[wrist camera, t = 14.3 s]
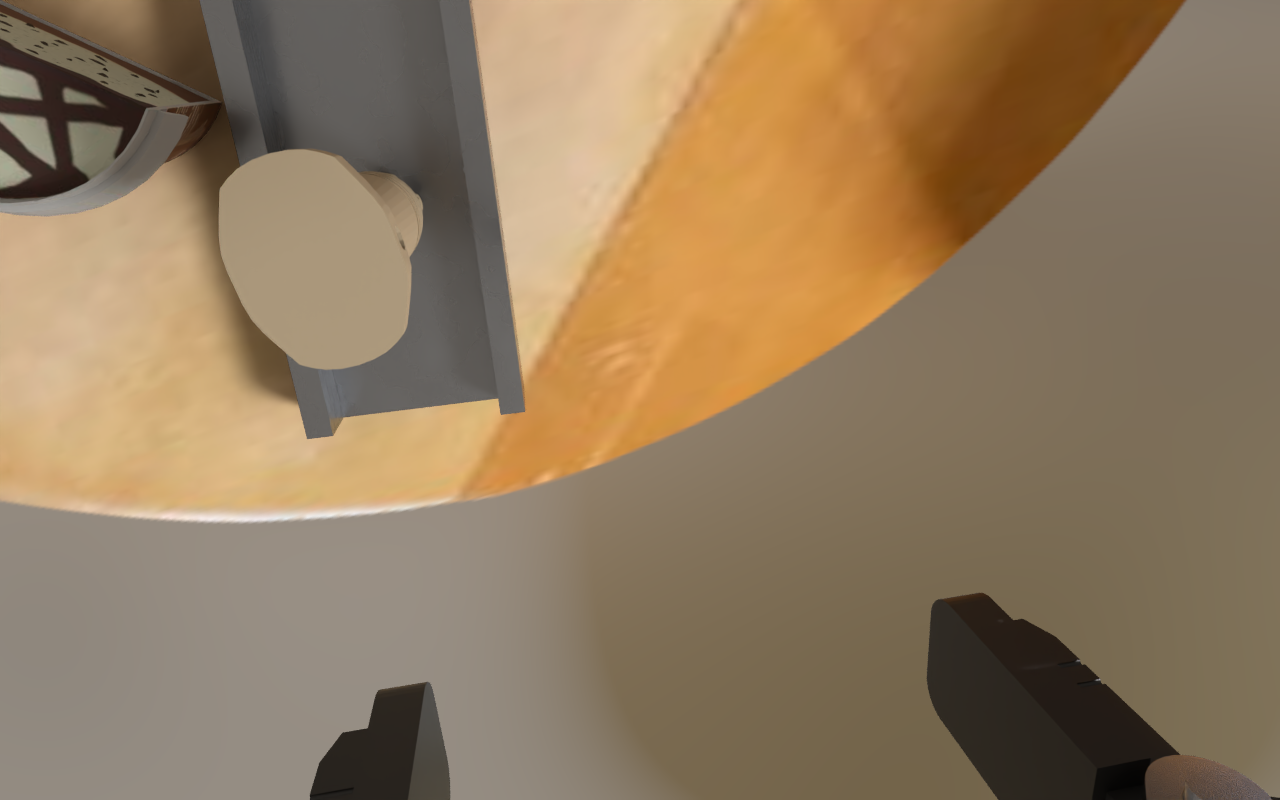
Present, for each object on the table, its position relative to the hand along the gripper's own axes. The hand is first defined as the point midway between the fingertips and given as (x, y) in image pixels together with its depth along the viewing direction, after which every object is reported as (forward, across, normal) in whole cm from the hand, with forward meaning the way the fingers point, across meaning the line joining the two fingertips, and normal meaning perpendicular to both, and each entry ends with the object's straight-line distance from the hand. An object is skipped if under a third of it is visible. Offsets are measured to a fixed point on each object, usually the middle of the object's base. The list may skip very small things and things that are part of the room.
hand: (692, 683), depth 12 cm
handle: (+29, +8, -5) cm, 31 cm away
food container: (+30, +20, -10) cm, 38 cm away
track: (+30, +8, -5) cm, 32 cm away
